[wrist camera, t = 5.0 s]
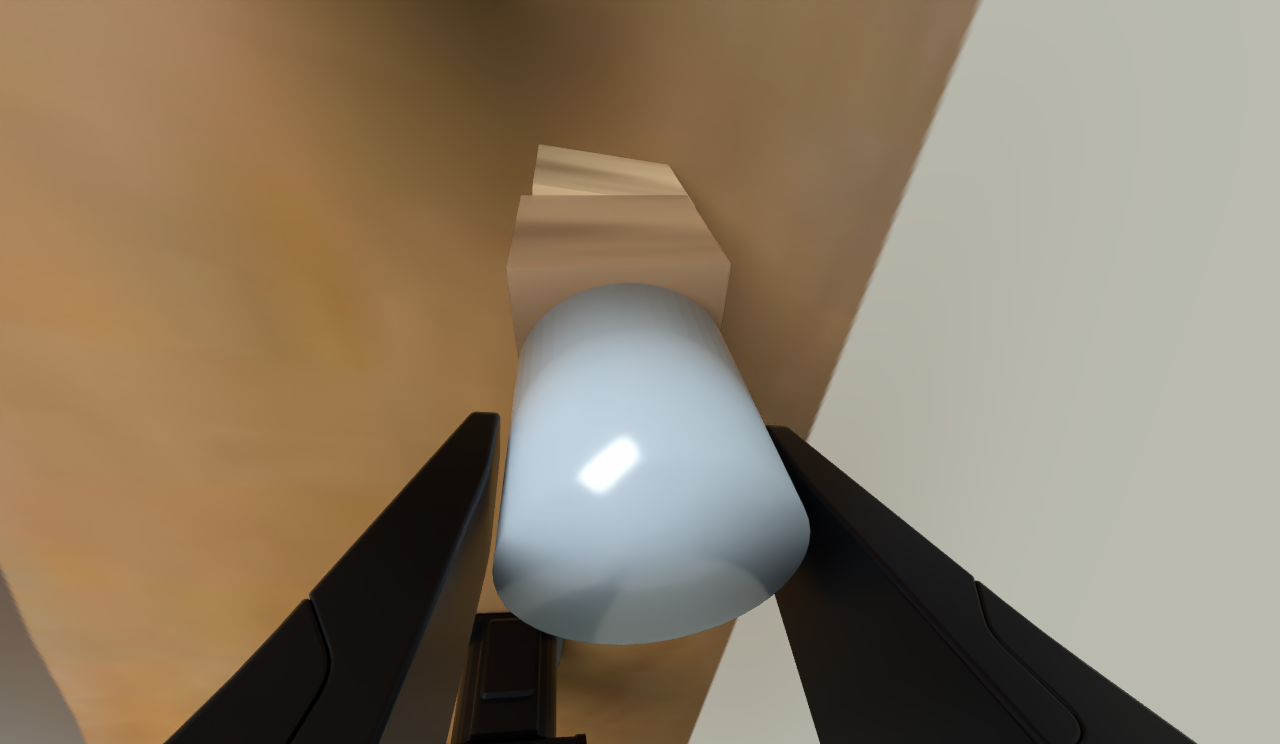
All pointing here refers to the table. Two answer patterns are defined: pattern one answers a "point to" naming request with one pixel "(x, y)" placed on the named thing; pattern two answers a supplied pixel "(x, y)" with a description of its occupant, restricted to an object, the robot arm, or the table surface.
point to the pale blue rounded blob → (639, 476)
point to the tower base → (600, 175)
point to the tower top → (610, 252)
